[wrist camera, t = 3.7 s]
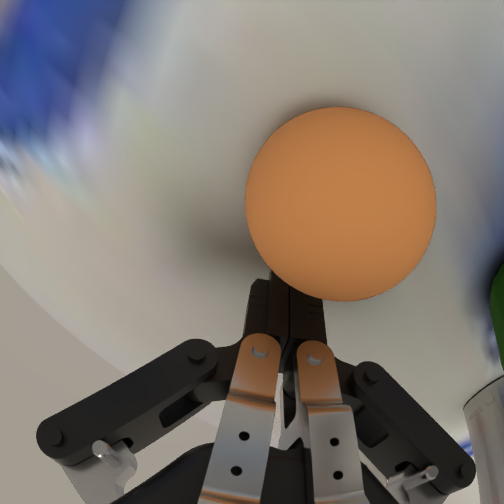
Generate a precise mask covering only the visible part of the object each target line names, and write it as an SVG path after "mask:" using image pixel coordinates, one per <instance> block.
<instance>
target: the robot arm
mask: <svg viewBox="0 0 504 504" xmlns="http://www.w3.org/2000/svg"><path fill="white" fill-rule="evenodd" d="M278 373H283V383H282V385H281V387H280V411H281V435H280V439H279V446H278V449H277V448H274V447H271V446H270V441H271V435H272V429H273V423H274V416H275V409H276V402H274V398H275V391H276V384H277V377H278ZM220 400H226V401H225V405H224V409H223V413H222V417H221V420H220V424H219V428H218V432H217V435H216V439H215V442H213V443H207V444H203V445H200V446H197V447H195V448H192V449H191V450H189V451H187V452H185V453H184V454H182V455H181V456H180V457H178V458H177V459H176V460H174V461H173V462H172V463H170V464H169V465H168V466H166V467H165V468H164V469H162V470H161V471H159V472H158V473H156V474H155V475H153V476H152V477H150V478H149V479H148V480H146V481H145V482H143V483H142V484H140V485H139V486H137V487H135V488H134V489H132V490H131V491H129V492H128V493H126V494H124V486H125V483H126V482H127V481H128V480H129V479H130V478H131V477H132V476H133V475H134V474H135V472H136V470H137V460H136V458H135V455H134V454H135V453H137V452H139V451H140V450H142V449H144V448H145V447H147V446H148V445H150V444H151V443H153V442H155V441H156V440H158V439H159V438H161V437H162V436H164V435H165V434H167V433H168V432H170V431H171V430H173V429H174V428H176V427H177V426H179V425H180V424H182V423H183V422H185V421H186V420H187V419H189V418H190V417H191V416H193V415H195V414H196V413H198V412H199V411H200V410H202V409H203V408H205V407H206V406H207V405H209V404H210V403H211V402H212V401H220ZM464 414H465V418H466V422H467V426H468V430H469V435H470V440H471V444H472V449H473V454H474V460H475V463H474V461H473V459H472V458H471V457H470V456H469V455H468V454H467V453H466V452H465V451H464V450H463V449H462V448H461V447H460V446H459V445H458V444H457V443H456V442H455V440H454V439H453V438H452V437H451V436H450V435H449V434H448V433H447V432H446V431H445V430H444V429H443V428H442V427H441V426H440V425H439V424H438V423H437V422H436V421H435V420H434V419H433V418H432V417H431V416H430V415H429V414H428V413H427V412H426V411H425V410H424V409H423V408H422V407H421V406H420V405H419V404H418V403H417V402H416V401H415V400H414V399H413V398H412V397H411V396H410V395H409V394H408V393H407V392H406V391H405V390H404V389H403V388H402V387H401V386H400V385H399V384H398V383H397V382H396V381H395V380H394V379H393V378H392V377H391V376H390V375H389V374H388V373H387V372H386V371H385V370H384V369H383V368H382V367H381V366H380V365H378V364H377V363H374V362H370V361H365V362H362V363H360V364H358V365H357V366H353V365H351V364H348V363H345V362H343V361H341V360H339V359H337V358H336V357H335V356H334V354H333V352H332V350H331V349H330V348H329V347H328V346H327V339H326V329H325V320H324V311H323V302H322V299H320V298H316V297H313V296H310V295H307V294H305V293H303V292H301V291H299V290H297V289H295V288H293V287H292V286H290V285H289V284H287V283H286V282H284V281H283V280H282V279H281V278H280V277H278V276H277V275H276V274H275V273H274V272H273V270H272V269H271V271H270V275H269V279H268V280H264V279H258V278H257V279H256V281H255V282H254V283H253V284H252V285H251V289H250V295H249V300H248V305H247V311H246V317H245V324H244V331H243V337H242V338H241V340H240V341H238V342H237V343H236V344H234V345H231V346H227V347H218V348H215V347H214V346H213V345H212V344H211V343H209V342H208V341H205V340H202V339H190V340H187V341H185V342H183V343H181V344H180V345H178V346H176V347H175V348H173V349H171V350H170V351H168V352H166V353H165V354H163V355H161V356H159V357H158V358H156V359H154V360H153V361H151V362H149V363H148V364H146V365H144V366H142V367H141V368H139V369H137V370H135V371H134V372H132V373H130V374H128V375H127V376H125V377H123V378H121V379H120V380H118V381H116V382H114V383H112V384H111V385H109V386H107V387H105V388H103V389H102V390H100V391H98V392H96V393H94V394H92V395H91V396H89V397H87V398H85V399H83V400H81V401H79V402H78V403H76V404H74V405H72V406H70V407H68V408H66V409H64V410H62V411H61V412H59V413H57V414H55V415H53V416H51V417H49V418H47V419H45V420H44V421H42V422H41V424H40V425H39V427H38V429H37V433H36V438H37V443H38V445H39V447H40V449H41V450H42V451H43V453H45V454H46V455H47V456H49V457H50V458H52V459H53V460H55V461H56V462H57V463H58V464H60V465H61V466H62V468H63V470H64V471H65V473H66V475H67V476H68V478H69V479H70V481H71V483H72V484H73V486H74V487H75V489H76V490H77V492H78V493H79V495H80V496H81V498H82V499H83V500H84V501H85V503H86V504H442V503H443V502H444V501H445V499H446V498H447V497H448V495H449V494H451V493H453V492H456V491H458V490H461V489H463V488H465V487H467V486H469V485H470V484H471V483H472V482H473V480H474V478H475V474H476V472H477V478H478V485H479V493H480V503H481V504H504V377H502V378H500V379H499V380H497V381H495V382H494V383H492V384H491V385H489V386H488V387H486V388H485V389H483V390H482V391H481V392H479V393H478V394H477V395H476V396H474V397H473V398H472V399H471V400H470V401H469V402H468V403H467V404H466V406H465V407H464ZM359 450H360V451H361V452H362V453H363V454H364V455H365V456H366V457H367V458H368V459H369V460H370V462H371V463H372V464H373V465H374V466H375V467H376V468H377V469H378V470H379V471H380V472H381V473H382V474H383V475H384V476H385V477H386V478H387V479H388V483H387V486H386V488H385V487H384V486H383V485H382V483H381V482H380V481H379V480H378V479H377V478H376V477H375V475H374V474H373V473H372V472H371V471H370V470H369V469H368V467H367V466H366V465H365V464H364V463H363V462H361V461H360V456H359ZM475 465H476V466H475Z"/></svg>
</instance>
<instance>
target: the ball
mask: <svg viewBox="0 0 504 504" xmlns="http://www.w3.org/2000/svg"><path fill="white" fill-rule="evenodd" d="M245 212H246V218H247V224H248V228H249V231H250V234H251V238H252V240H253V242H254V244H255V246H256V248H257V250H258V252H259V254H260V255H261V257H262V258H263V260H264V261H265V263H266V264H267V265H268V266H269V267H270V268H271V269H272V270H273V272H274V273H275V274H276V275H277V276H278V277H280V278H281V279H282V280H283V281H284V282H286V283H287V284H289V285H290V286H292V287H293V288H295V289H297V290H299V291H301V292H303V293H305V294H307V295H310V296H313V297H316V298H320V299H324V300H331V301H357V300H362V299H367V298H370V297H373V296H376V295H378V294H381V293H383V292H385V291H387V290H389V289H391V288H392V287H394V286H395V285H397V284H398V283H399V282H401V281H402V280H403V279H404V278H405V277H406V276H407V275H408V274H409V273H410V272H411V271H412V270H413V269H414V268H415V266H416V265H417V264H418V263H419V261H420V260H421V258H422V256H423V255H424V253H425V251H426V249H427V247H428V245H429V242H430V239H431V236H432V233H433V230H434V225H435V219H436V195H435V188H434V184H433V180H432V176H431V173H430V170H429V168H428V166H427V164H426V161H425V159H424V158H423V156H422V155H421V153H420V151H419V150H418V148H417V147H416V146H415V144H414V143H413V142H412V141H411V140H410V138H409V137H408V136H407V135H406V134H405V133H403V132H402V131H401V130H400V129H399V128H398V127H396V126H395V125H394V124H392V123H390V122H389V121H387V120H386V119H384V118H382V117H380V116H378V115H375V114H373V113H371V112H367V111H364V110H360V109H355V108H348V107H327V108H321V109H315V110H312V111H309V112H306V113H303V114H301V115H299V116H297V117H295V118H293V119H291V120H290V121H288V122H287V123H285V124H284V125H282V126H281V127H280V128H279V129H277V130H276V131H275V132H274V133H273V134H272V135H271V136H270V137H269V138H268V140H267V141H266V142H265V143H264V145H263V146H262V148H261V149H260V151H259V152H258V154H257V156H256V157H255V159H254V162H253V164H252V166H251V169H250V172H249V176H248V179H247V184H246V193H245Z"/></svg>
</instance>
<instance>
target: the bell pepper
mask: <svg viewBox="0 0 504 504" xmlns="http://www.w3.org/2000/svg"><path fill="white" fill-rule="evenodd" d="M490 313H491V317H492V321H493V326H494V331H495V335H496V340H497V344H498V349H499V354H500V359H501V365H502V367H503V370H504V262H503V264H502V266H501V268H500V269H499V271H498V273H497V274H496V276H495V278H494V279H493V282H492V288H491V293H490Z"/></svg>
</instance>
